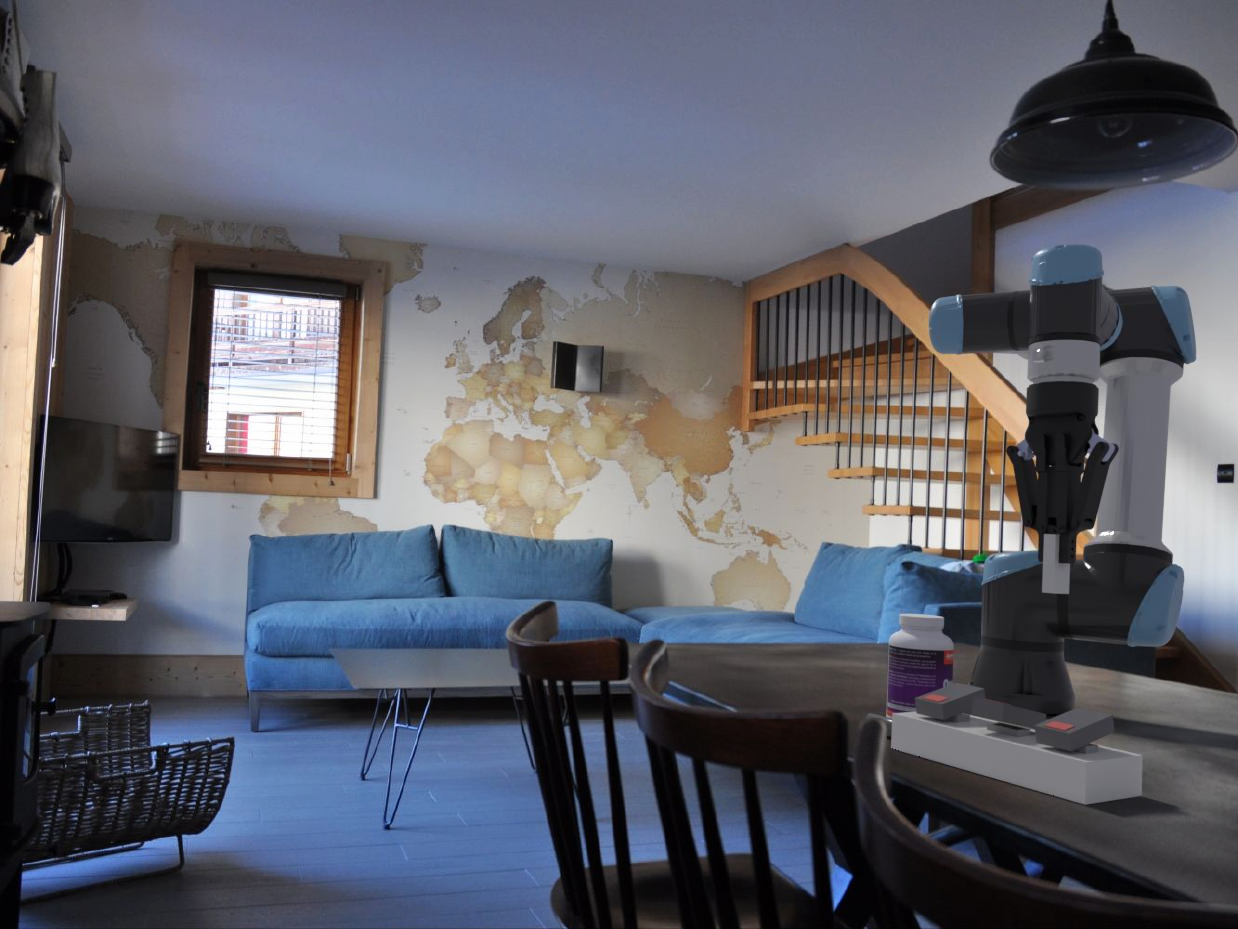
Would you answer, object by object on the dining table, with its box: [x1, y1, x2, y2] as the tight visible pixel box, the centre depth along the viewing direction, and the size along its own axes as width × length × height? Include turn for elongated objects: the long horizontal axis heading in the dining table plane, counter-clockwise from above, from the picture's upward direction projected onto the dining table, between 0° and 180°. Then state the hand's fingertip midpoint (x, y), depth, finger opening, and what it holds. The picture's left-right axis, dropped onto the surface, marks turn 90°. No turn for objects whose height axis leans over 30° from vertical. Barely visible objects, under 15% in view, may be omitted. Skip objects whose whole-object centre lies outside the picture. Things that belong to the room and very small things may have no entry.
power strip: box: [865, 712, 1144, 806], centre depth 117 cm, size 9×33×5 cm, turn 31°
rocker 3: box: [1034, 707, 1115, 751], centre depth 107 cm, size 7×4×2 cm, turn 121°
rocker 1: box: [915, 682, 985, 720], centre depth 120 cm, size 7×4×2 cm, turn 121°
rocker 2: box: [970, 697, 1047, 730], centre depth 113 cm, size 7×4×2 cm, turn 121°
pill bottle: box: [885, 613, 955, 719], centre depth 135 cm, size 8×8×14 cm
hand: (1055, 592), depth 117 cm, fingers closed
